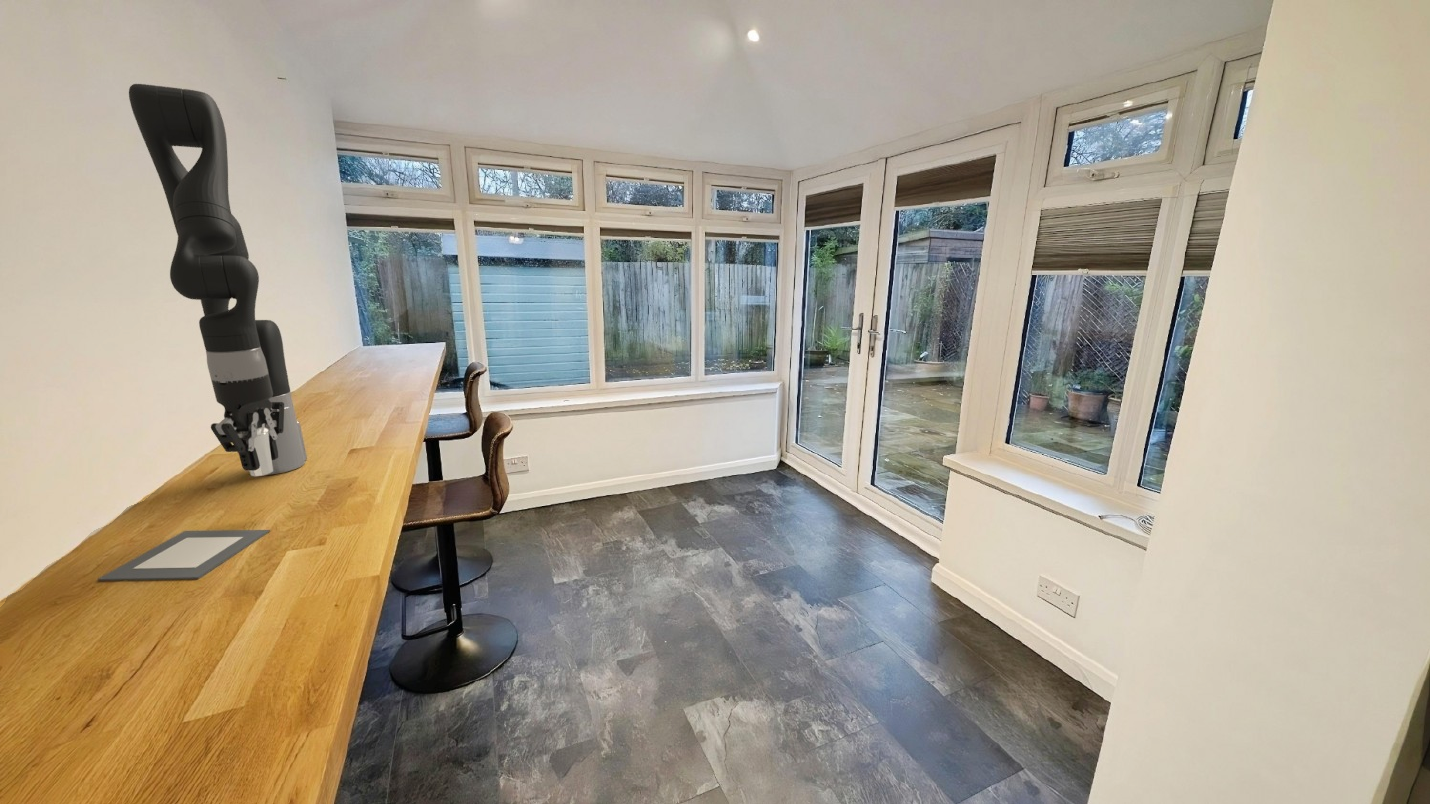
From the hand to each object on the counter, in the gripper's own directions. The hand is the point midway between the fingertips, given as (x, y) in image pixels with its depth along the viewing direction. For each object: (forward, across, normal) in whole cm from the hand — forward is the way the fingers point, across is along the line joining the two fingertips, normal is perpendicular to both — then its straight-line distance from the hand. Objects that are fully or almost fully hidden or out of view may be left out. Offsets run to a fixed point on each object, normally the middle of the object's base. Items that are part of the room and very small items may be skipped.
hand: (261, 464), depth 95 cm
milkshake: (+2, 0, 0) cm, 2 cm away
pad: (+9, +15, -2) cm, 18 cm away
